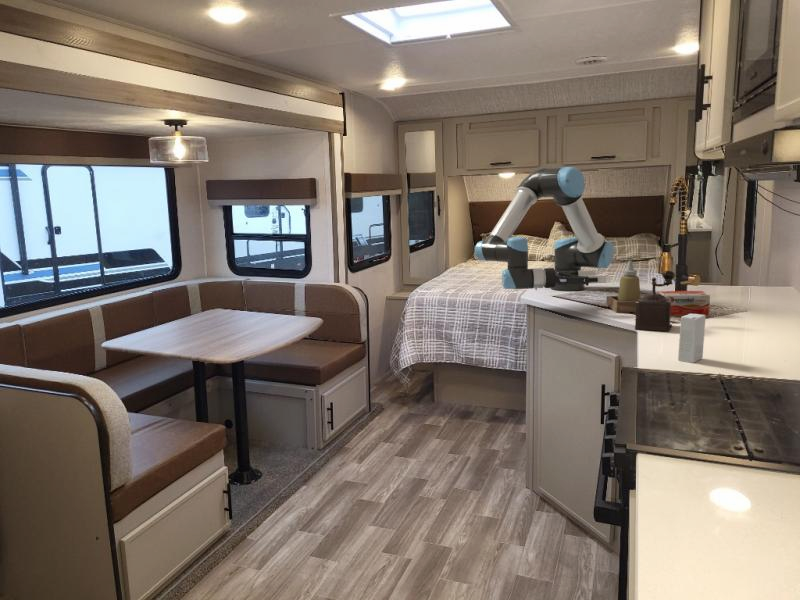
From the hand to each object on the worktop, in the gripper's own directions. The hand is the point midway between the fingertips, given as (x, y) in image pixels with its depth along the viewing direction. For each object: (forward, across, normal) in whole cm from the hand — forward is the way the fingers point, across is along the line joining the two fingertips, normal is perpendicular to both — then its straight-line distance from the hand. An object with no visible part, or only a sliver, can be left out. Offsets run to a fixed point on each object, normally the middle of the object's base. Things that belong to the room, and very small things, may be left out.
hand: (600, 276), depth 233 cm
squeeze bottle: (+11, 0, -13) cm, 17 cm away
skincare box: (+4, +70, -13) cm, 71 cm away
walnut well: (+11, 0, -13) cm, 17 cm away
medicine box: (+26, +12, -13) cm, 32 cm away
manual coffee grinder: (+9, +29, -13) cm, 33 cm away
